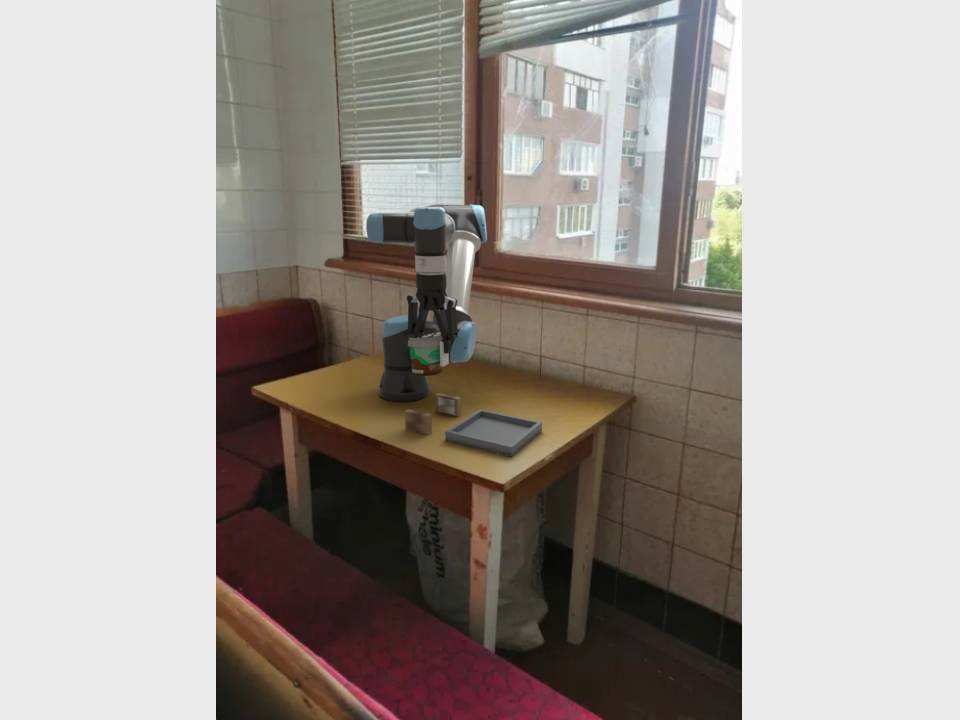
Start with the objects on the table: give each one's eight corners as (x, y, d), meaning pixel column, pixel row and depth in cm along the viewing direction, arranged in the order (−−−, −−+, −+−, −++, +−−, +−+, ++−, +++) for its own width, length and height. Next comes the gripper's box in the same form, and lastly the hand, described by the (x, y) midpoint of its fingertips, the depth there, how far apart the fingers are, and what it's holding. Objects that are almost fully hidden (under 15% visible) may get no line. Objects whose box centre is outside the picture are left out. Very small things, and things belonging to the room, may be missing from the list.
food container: (428, 381, 144) (427, 341, 141) (408, 376, 147) (407, 338, 144) (456, 367, 154) (456, 330, 151) (437, 364, 157) (437, 327, 154)
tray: (445, 440, 143) (445, 431, 142) (480, 417, 157) (480, 409, 156) (511, 457, 134) (511, 447, 134) (541, 431, 148) (542, 422, 148)
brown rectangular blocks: (405, 429, 149) (404, 411, 148) (439, 410, 162) (439, 392, 161) (428, 435, 146) (427, 416, 145) (461, 414, 159) (461, 397, 158)
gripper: (390, 271, 144) (394, 361, 151) (456, 277, 135) (457, 373, 142) (408, 267, 151) (411, 354, 157) (472, 273, 142) (473, 364, 148)
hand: (433, 362), depth 150 cm, fingers closed on food container, 6 cm apart
